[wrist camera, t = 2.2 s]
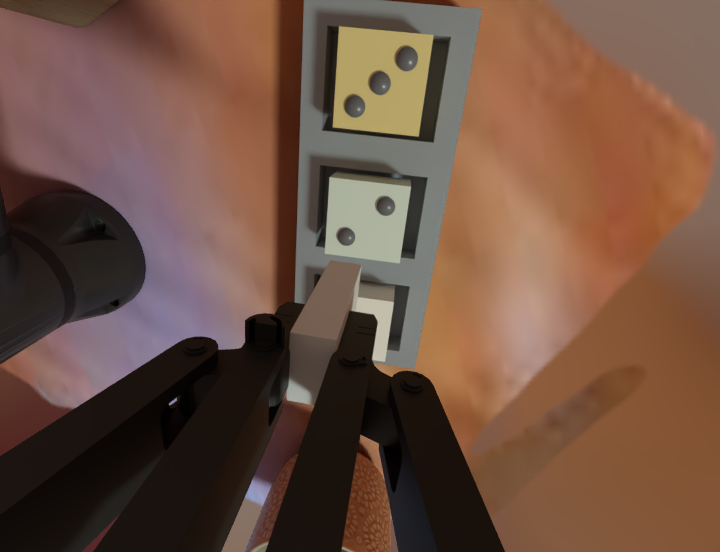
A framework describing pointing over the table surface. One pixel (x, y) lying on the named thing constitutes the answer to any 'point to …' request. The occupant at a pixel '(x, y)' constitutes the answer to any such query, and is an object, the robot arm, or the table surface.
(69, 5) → the wooden block
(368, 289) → the tile one
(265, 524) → the planter
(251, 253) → the table surface
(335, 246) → the tile two
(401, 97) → the tile three
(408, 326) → the tile board
